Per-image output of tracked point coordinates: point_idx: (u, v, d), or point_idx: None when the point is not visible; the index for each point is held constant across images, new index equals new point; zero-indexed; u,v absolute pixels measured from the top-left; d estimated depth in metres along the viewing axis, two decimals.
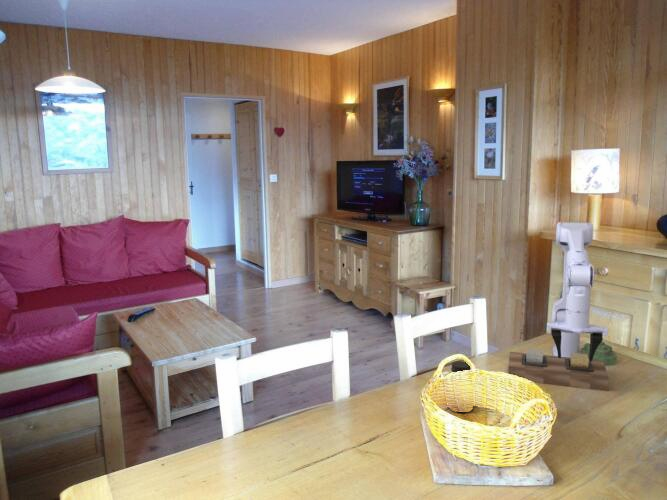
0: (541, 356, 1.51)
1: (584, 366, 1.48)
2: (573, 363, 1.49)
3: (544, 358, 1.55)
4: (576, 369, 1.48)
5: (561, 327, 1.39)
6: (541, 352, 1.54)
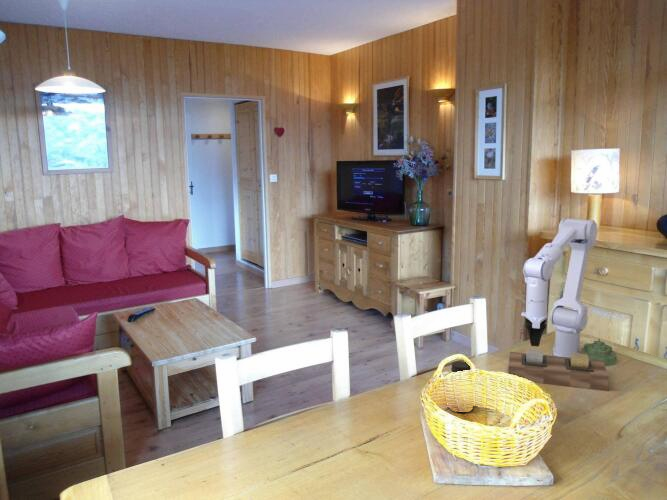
0: (541, 356, 1.51)
1: (584, 366, 1.48)
2: (573, 363, 1.49)
3: (544, 358, 1.55)
4: (576, 369, 1.48)
5: None
6: (541, 352, 1.54)
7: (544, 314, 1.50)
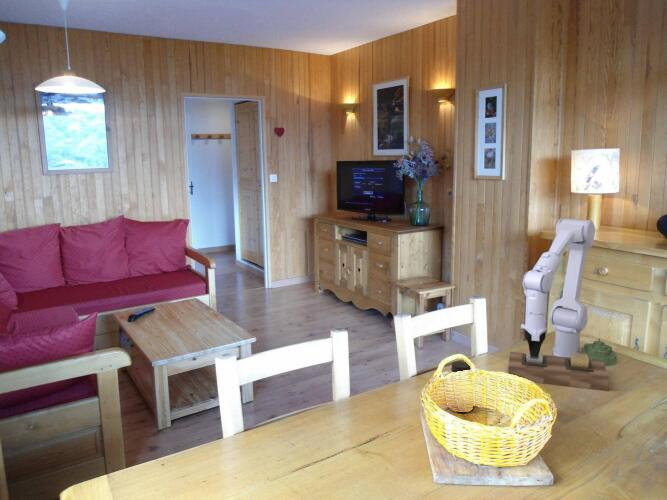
0: (541, 360, 1.52)
1: (584, 366, 1.48)
2: (573, 363, 1.49)
3: (544, 358, 1.55)
4: (576, 369, 1.48)
5: None
6: (541, 356, 1.54)
7: (543, 326, 1.50)
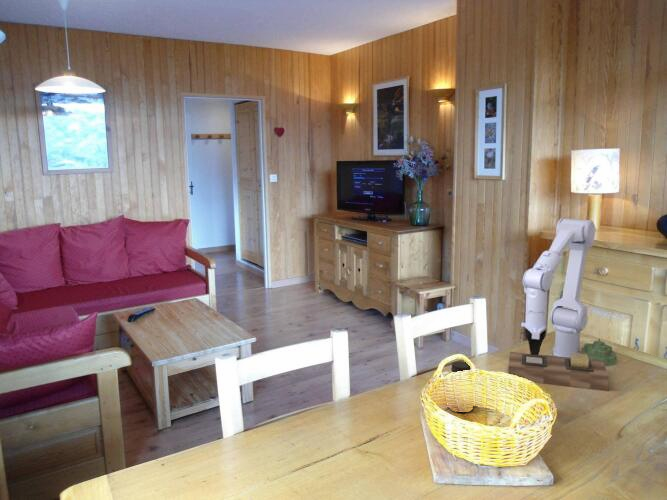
0: None
1: (584, 366, 1.48)
2: (573, 363, 1.49)
3: (544, 358, 1.55)
4: (576, 369, 1.48)
5: None
6: (541, 360, 1.54)
7: (544, 325, 1.50)
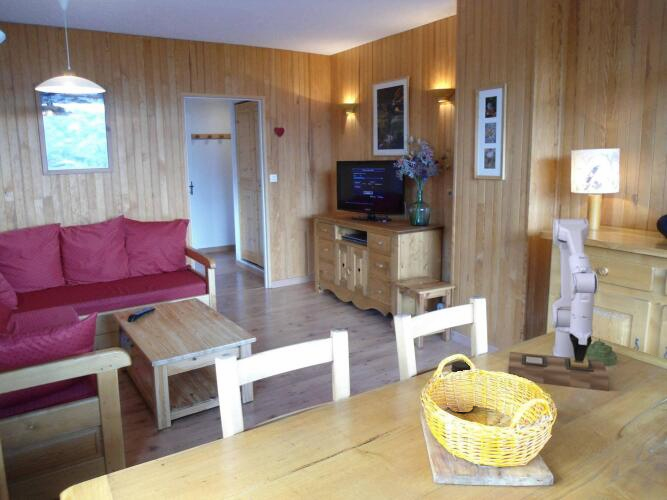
0: None
1: None
2: None
3: (544, 358, 1.55)
4: (576, 369, 1.48)
5: None
6: (541, 360, 1.54)
7: (590, 330, 1.46)
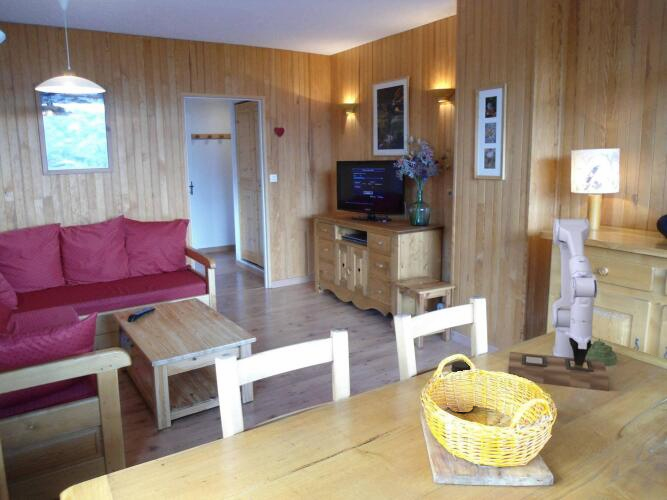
0: None
1: None
2: None
3: (544, 358, 1.55)
4: (576, 369, 1.48)
5: None
6: (541, 360, 1.54)
7: (589, 334, 1.46)
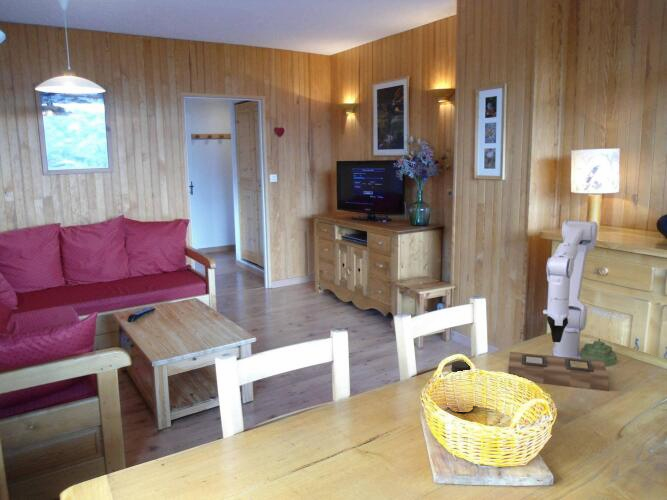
0: None
1: None
2: None
3: (544, 358, 1.55)
4: (576, 369, 1.48)
5: None
6: (541, 360, 1.54)
7: (566, 312, 1.51)
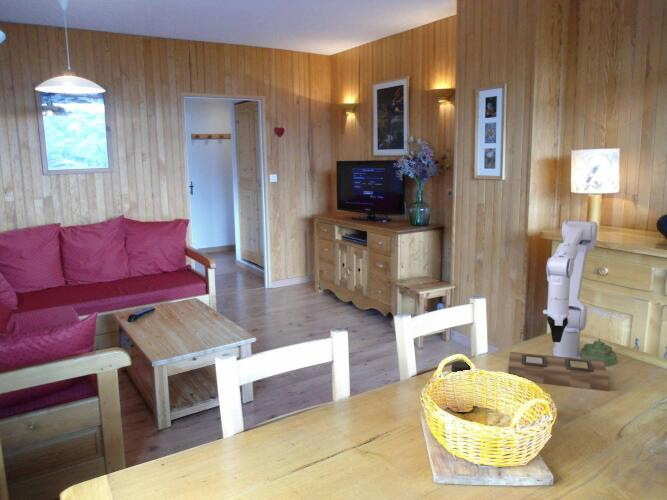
0: None
1: None
2: None
3: (544, 358, 1.55)
4: (576, 369, 1.48)
5: None
6: (541, 360, 1.54)
7: (566, 312, 1.51)
